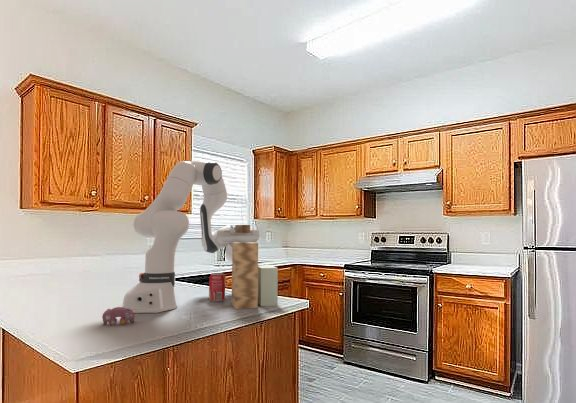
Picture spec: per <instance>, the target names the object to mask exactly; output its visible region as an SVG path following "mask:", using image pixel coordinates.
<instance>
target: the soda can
mask: <svg viewBox="0 0 576 403" xmlns="http://www.w3.org/2000/svg"><path fill="white" fill-rule="evenodd" d="M208 281H209V282H208V300H209V301H210V302H213V303H220V302H223V301H224V300H225V298H226V276H225V273H223V272H212V273H210V276H209V280H208Z"/></svg>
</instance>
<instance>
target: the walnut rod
mask: <svg viewBox="0 0 576 403" xmlns="http://www.w3.org/2000/svg"><path fill="white" fill-rule="evenodd" d="M234 227H236V231H235V232H236V233H250V230H251V225H250V224H236V225H234Z"/></svg>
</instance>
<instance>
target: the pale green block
mask: <svg viewBox="0 0 576 403" xmlns="http://www.w3.org/2000/svg"><path fill="white" fill-rule="evenodd" d="M278 269H279V268H278V267H277V266H274V265H271V264H258V306H260V307H274V306H276V307H277V306H278V299H279V298H278V295H279V294H278V293H279V292H278V291H279V289H278V284H279V281H278V280H279V279H278V276H279V274H278V272H279V270H278Z"/></svg>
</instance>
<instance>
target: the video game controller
mask: <svg viewBox="0 0 576 403" xmlns="http://www.w3.org/2000/svg"><path fill="white" fill-rule="evenodd" d="M135 316H136V315H135V313H134V312H133V310H131V309H130V308H127V309H126V308H123V307H118V306H117V307H113V308H107V309H106V310H105V311H104V312H103V313H102V316H101V317H102V318H101V319H102V323H103V324H104V325H106V324H109V325H110V326H116V324H117V323H118V319H117V318H120V319H119V324H120V325H126V324H127V323H128V322H130V323H134V322H135V318H136V317H135Z"/></svg>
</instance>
